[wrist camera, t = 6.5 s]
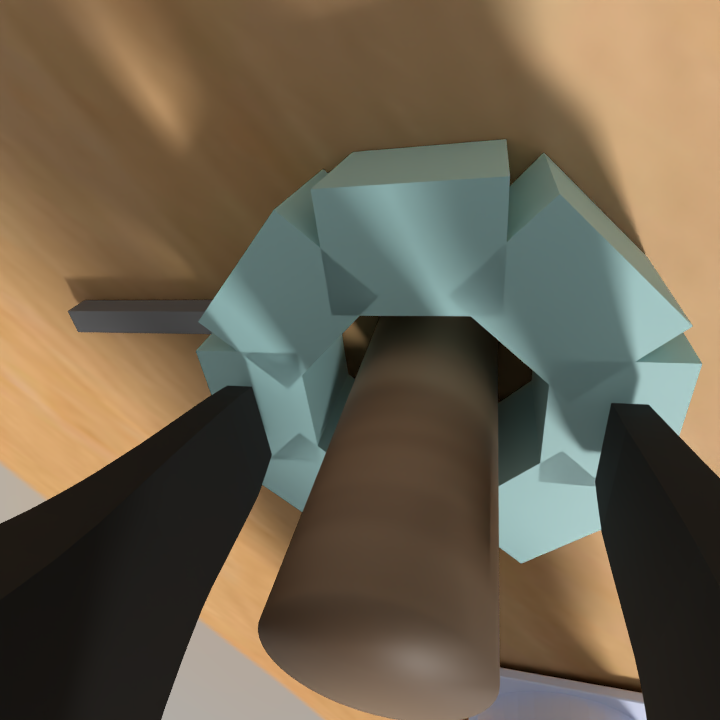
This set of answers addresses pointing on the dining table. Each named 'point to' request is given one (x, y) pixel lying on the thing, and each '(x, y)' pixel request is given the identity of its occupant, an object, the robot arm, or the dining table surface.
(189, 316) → the long slate grey beam
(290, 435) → the teal bead
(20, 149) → the dining table surface
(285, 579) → the dowel
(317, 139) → the dining table surface
